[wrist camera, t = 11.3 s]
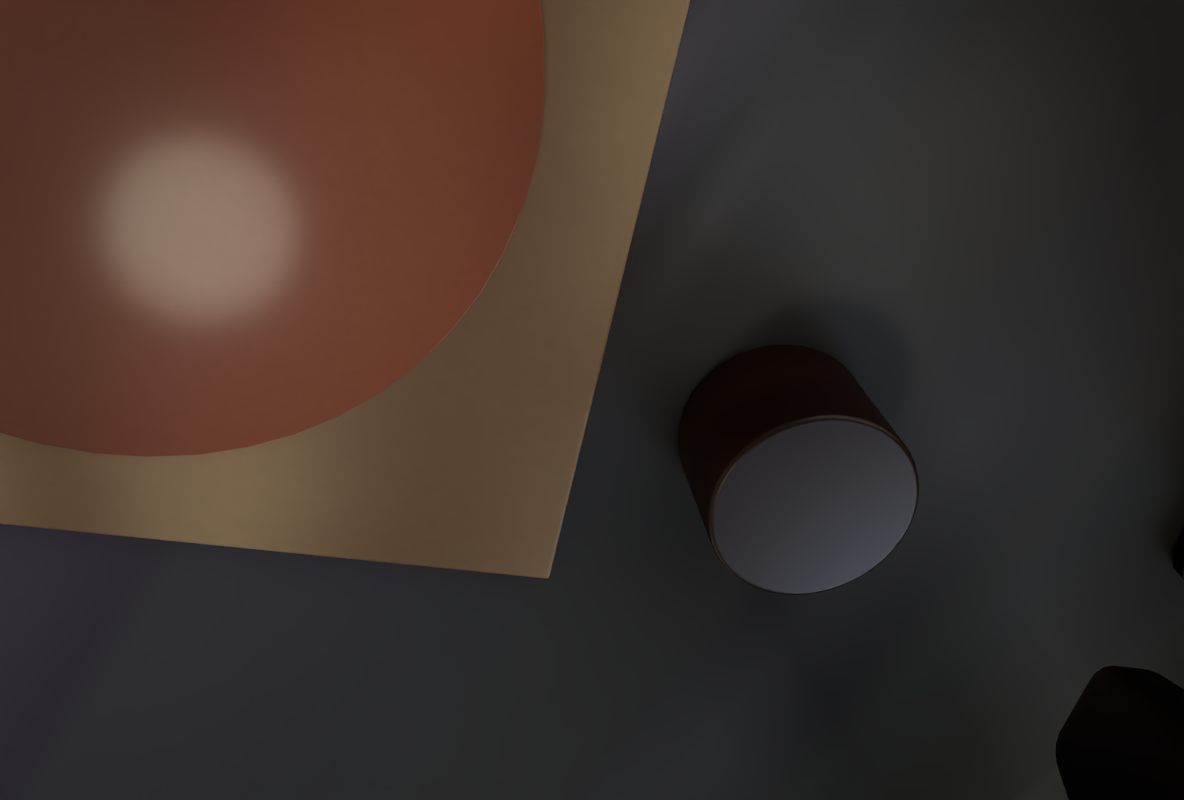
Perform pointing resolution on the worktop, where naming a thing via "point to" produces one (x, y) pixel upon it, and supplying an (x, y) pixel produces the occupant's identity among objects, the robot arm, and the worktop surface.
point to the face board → (316, 265)
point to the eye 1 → (795, 471)
